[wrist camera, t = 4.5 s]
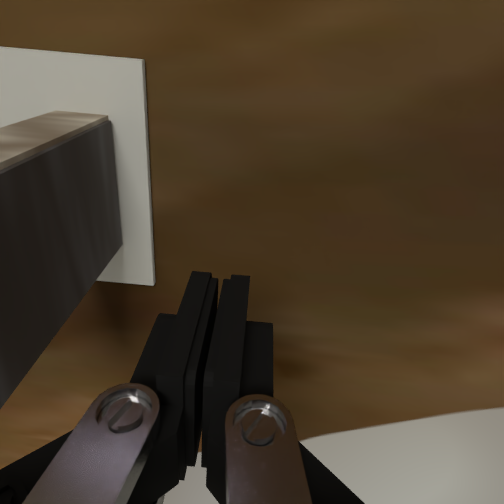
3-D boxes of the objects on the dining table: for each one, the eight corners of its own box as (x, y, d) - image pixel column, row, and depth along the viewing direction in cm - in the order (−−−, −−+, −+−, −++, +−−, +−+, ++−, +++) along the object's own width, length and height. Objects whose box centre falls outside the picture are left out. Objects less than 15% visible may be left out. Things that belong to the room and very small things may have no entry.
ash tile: (112, 115, 18) (-106, 214, 8) (124, 246, 22) (-17, 439, 11) (55, 110, 18) (-240, 202, 8) (76, 241, 22) (-111, 430, 11)
